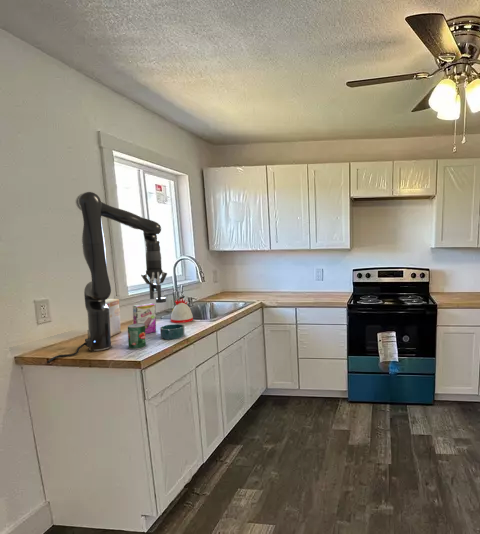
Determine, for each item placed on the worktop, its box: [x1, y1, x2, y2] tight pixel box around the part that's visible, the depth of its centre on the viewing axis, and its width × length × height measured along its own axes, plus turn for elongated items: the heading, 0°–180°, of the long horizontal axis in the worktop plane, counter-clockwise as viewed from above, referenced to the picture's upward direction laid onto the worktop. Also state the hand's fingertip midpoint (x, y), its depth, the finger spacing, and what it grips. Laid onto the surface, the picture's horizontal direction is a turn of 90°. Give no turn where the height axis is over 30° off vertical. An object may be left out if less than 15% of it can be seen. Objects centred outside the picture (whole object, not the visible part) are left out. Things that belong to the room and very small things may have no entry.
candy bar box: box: [132, 303, 157, 335], centre depth 197 cm, size 11×5×16 cm, turn 141°
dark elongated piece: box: [148, 282, 167, 304], centre depth 186 cm, size 16×5×9 cm, turn 43°
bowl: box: [159, 323, 186, 340], centre depth 190 cm, size 12×13×6 cm
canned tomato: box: [127, 323, 147, 350], centre depth 172 cm, size 8×8×11 cm
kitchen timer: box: [170, 297, 194, 324], centre depth 229 cm, size 14×14×15 cm
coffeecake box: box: [105, 298, 122, 337], centre depth 193 cm, size 15×7×20 cm, turn 175°
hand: (155, 291), depth 187 cm, fingers closed on dark elongated piece
